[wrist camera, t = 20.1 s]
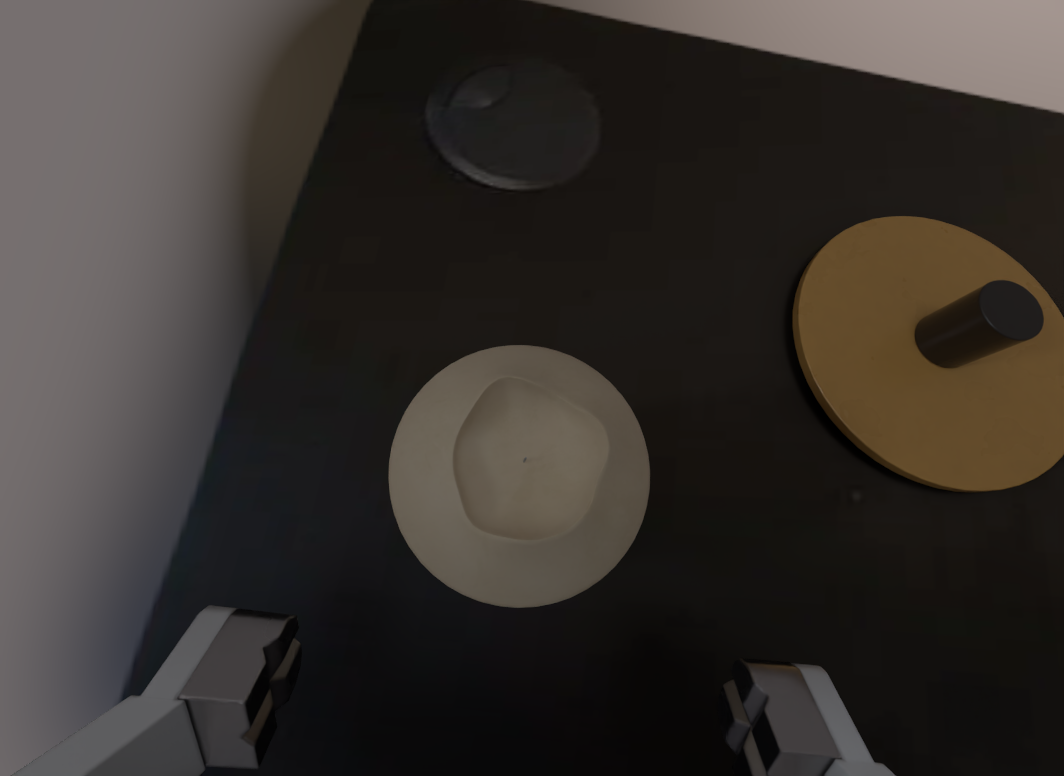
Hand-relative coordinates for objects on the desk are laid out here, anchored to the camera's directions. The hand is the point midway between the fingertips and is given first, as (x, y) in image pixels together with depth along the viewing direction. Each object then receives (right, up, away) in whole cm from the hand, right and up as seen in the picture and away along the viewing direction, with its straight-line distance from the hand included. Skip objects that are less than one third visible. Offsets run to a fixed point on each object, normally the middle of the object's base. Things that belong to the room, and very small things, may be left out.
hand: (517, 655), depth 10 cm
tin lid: (+17, +7, +12) cm, 22 cm away
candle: (-1, +1, +9) cm, 10 cm away
